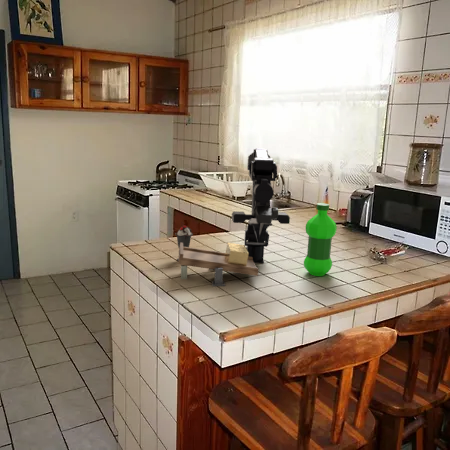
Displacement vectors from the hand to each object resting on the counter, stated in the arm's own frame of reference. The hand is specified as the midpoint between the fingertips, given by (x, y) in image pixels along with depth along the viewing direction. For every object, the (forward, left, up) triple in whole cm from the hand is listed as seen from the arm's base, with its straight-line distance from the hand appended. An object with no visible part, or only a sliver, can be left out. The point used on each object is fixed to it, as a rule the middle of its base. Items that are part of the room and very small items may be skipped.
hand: (259, 242), depth 153 cm
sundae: (+25, -18, -12) cm, 33 cm away
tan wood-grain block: (+8, 0, -7) cm, 10 cm away
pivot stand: (+19, 0, -12) cm, 22 cm away
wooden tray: (+14, 0, -8) cm, 16 cm away
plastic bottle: (-22, -3, -12) cm, 25 cm away
